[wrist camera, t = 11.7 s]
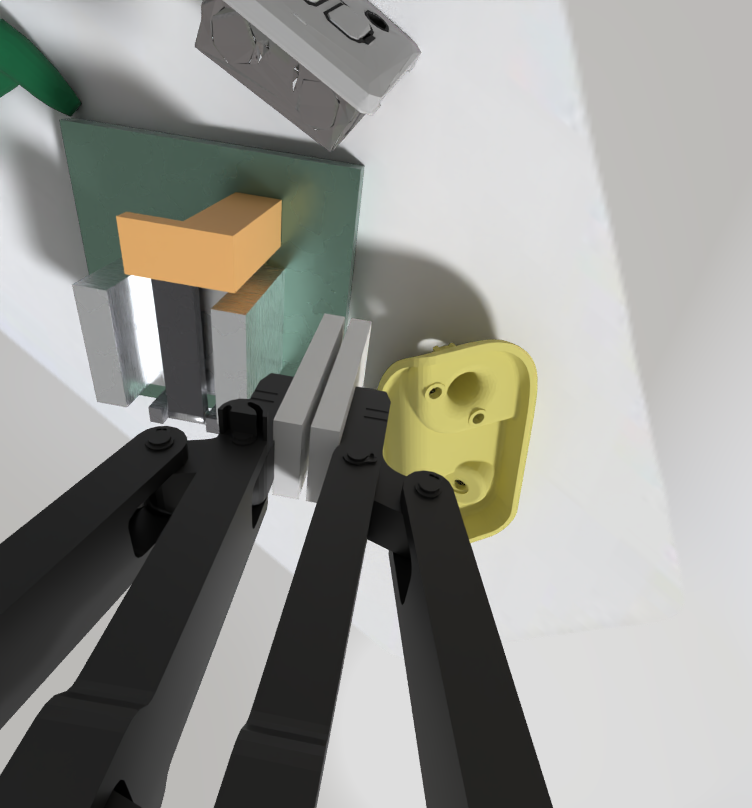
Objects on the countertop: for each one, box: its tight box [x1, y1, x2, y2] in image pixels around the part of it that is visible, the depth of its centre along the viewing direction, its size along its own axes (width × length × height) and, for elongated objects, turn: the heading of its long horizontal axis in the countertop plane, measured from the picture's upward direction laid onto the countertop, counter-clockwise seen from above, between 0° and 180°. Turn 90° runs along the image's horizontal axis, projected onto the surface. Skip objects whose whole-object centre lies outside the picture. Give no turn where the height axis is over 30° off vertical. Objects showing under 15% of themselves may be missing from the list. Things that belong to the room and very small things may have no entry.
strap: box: [151, 279, 209, 425], centre depth 32 cm, size 14×3×1 cm, turn 173°
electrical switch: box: [195, 0, 421, 152], centre depth 25 cm, size 9×5×9 cm, turn 55°
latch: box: [116, 192, 282, 293], centre depth 30 cm, size 3×6×9 cm, turn 82°
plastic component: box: [377, 339, 537, 543], centre depth 40 cm, size 20×7×10 cm
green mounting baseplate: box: [59, 118, 364, 434], centre depth 34 cm, size 20×19×10 cm
